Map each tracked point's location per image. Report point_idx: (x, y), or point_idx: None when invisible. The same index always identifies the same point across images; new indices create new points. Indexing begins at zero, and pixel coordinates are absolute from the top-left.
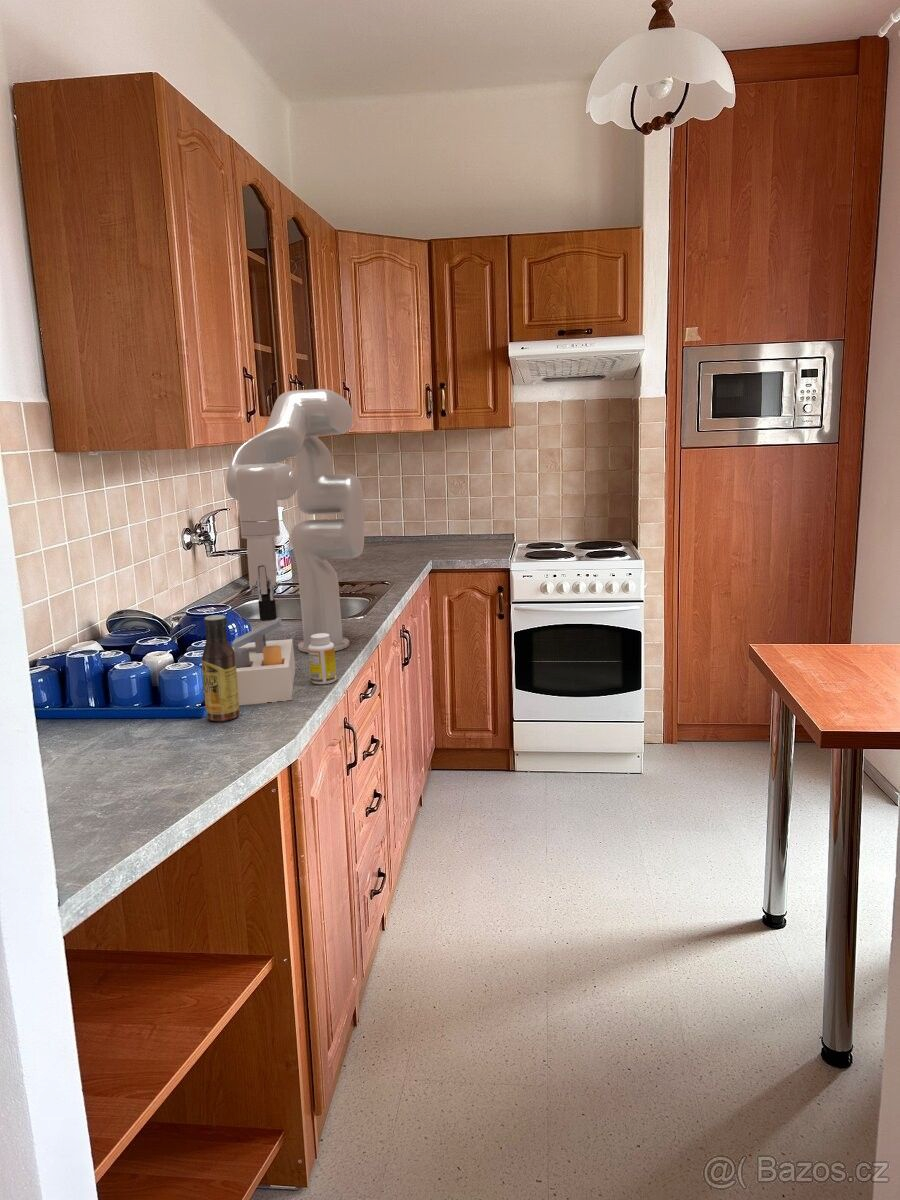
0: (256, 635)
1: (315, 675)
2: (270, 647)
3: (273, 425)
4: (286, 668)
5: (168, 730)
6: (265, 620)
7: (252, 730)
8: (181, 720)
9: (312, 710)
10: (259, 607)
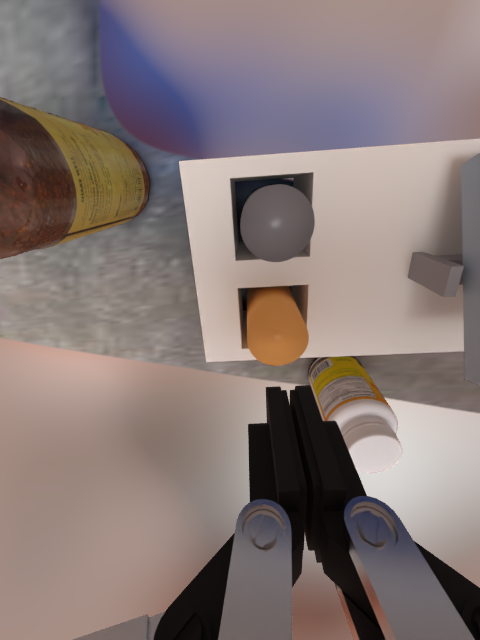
0: (472, 273)
1: (317, 371)
2: (285, 335)
3: None
4: (205, 355)
5: (7, 23)
6: (266, 404)
7: (33, 264)
8: (93, 47)
9: (149, 361)
10: (274, 448)
